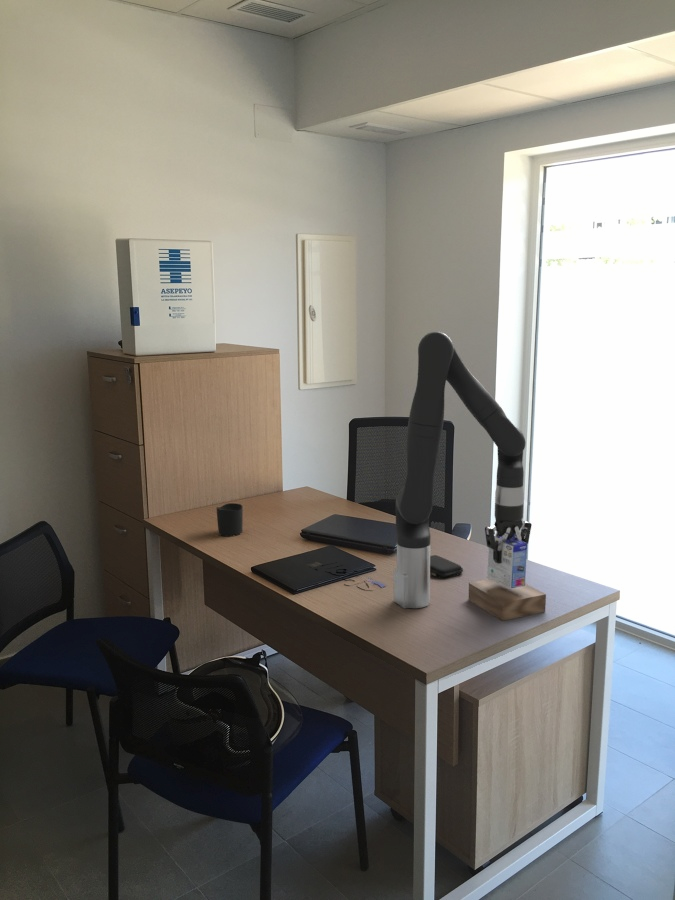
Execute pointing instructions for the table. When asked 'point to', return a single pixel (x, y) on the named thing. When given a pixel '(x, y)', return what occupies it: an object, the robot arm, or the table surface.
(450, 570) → the carrying case or bag
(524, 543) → the ink cartridge box
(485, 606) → the wooden block
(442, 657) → the table surface
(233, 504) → the pen holder
